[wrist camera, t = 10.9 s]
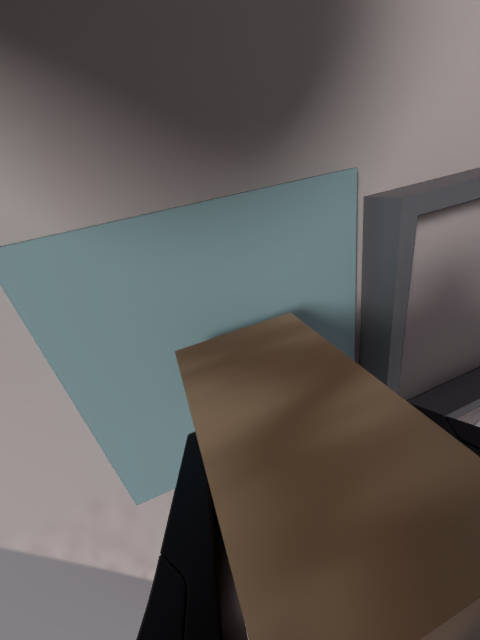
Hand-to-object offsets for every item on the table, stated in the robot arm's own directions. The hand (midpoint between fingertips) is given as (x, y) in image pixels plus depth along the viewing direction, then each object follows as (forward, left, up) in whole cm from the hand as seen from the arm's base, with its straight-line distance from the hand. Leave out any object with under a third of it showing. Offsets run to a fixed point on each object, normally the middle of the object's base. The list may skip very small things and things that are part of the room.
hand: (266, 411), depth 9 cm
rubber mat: (0, 0, -4) cm, 4 cm away
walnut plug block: (0, 0, -2) cm, 2 cm away
